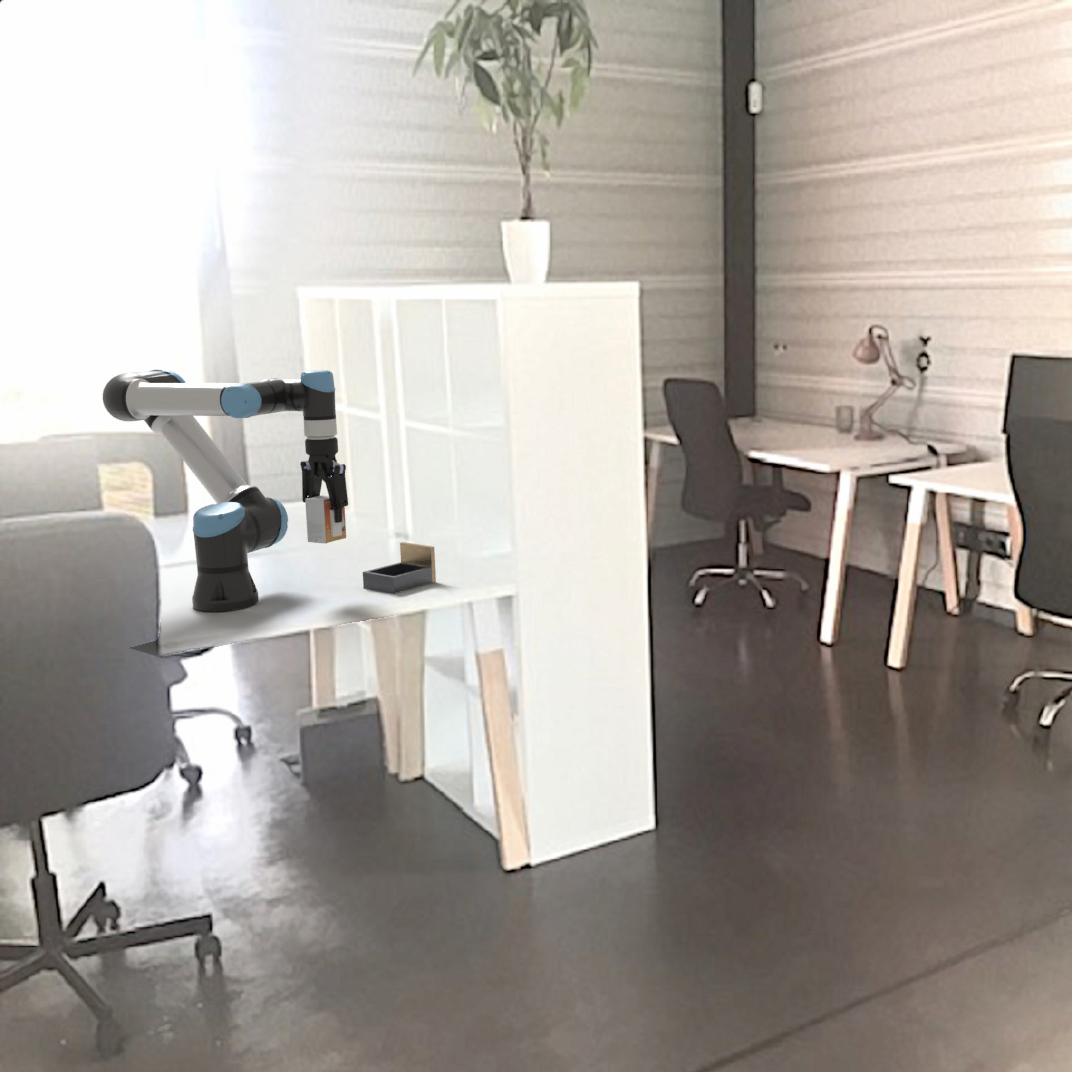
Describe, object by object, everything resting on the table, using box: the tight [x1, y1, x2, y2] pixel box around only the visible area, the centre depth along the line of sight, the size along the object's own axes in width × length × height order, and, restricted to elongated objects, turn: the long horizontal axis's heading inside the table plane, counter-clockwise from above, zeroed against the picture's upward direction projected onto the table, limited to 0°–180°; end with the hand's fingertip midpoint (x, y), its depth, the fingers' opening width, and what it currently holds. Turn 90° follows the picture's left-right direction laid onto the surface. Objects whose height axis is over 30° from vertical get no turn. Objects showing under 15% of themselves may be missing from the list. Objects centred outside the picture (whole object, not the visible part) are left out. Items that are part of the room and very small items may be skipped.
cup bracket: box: [362, 541, 437, 595], centre depth 292 cm, size 11×14×9 cm
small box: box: [305, 493, 347, 545], centre depth 279 cm, size 8×6×10 cm
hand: (327, 534), depth 280 cm, fingers closed on small box, 6 cm apart
